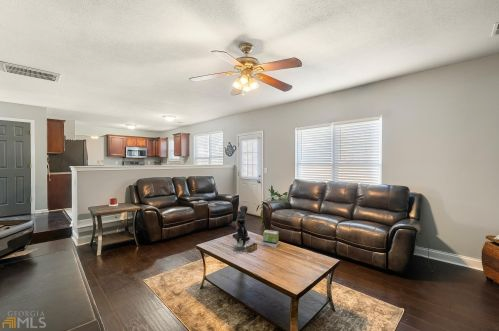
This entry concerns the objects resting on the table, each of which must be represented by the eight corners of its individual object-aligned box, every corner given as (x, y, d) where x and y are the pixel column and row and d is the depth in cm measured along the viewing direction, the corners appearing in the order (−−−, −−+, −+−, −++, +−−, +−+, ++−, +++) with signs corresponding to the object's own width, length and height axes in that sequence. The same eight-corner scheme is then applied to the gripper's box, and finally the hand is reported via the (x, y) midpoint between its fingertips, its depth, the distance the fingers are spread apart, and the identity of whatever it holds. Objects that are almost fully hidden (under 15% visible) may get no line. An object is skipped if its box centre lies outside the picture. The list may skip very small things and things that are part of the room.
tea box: (262, 245, 242) (262, 231, 242) (265, 242, 252) (265, 229, 251) (276, 247, 237) (276, 233, 236) (278, 244, 246) (278, 231, 246)
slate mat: (233, 249, 230) (233, 249, 230) (241, 246, 240) (241, 245, 240) (240, 252, 224) (240, 251, 224) (248, 248, 235) (248, 247, 234)
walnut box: (250, 253, 222) (250, 247, 222) (246, 251, 225) (246, 245, 225) (257, 249, 232) (257, 243, 232) (253, 248, 235) (253, 242, 235)
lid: (240, 246, 226) (240, 244, 226) (235, 245, 230) (235, 242, 230) (246, 243, 234) (246, 241, 234) (241, 242, 238) (241, 240, 238)
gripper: (229, 230, 231) (229, 245, 231) (243, 234, 219) (243, 250, 220) (236, 227, 240) (236, 242, 240) (250, 231, 228) (250, 246, 229)
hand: (241, 245), depth 232 cm, fingers closed on lid, 6 cm apart
